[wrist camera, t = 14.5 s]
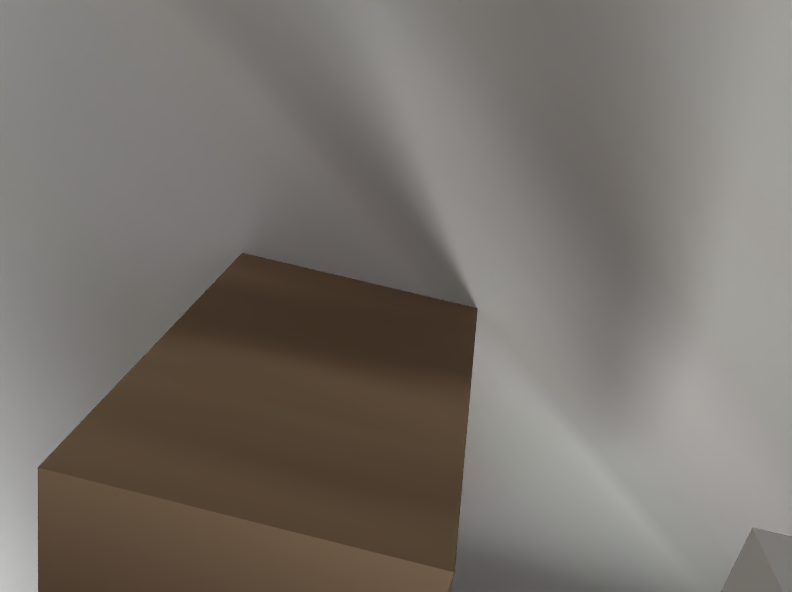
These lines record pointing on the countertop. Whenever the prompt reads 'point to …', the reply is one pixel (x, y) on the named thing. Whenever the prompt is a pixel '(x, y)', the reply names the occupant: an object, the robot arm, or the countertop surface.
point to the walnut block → (271, 446)
